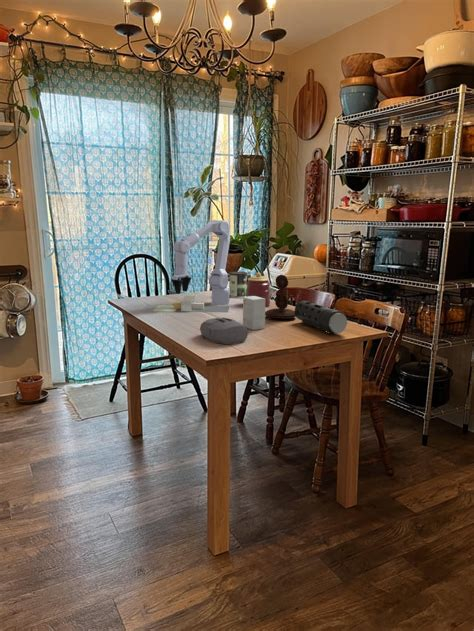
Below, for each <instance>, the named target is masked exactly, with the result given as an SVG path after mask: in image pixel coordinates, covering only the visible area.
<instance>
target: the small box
mask: <svg viewBox="0 0 474 631" xmlns="http://www.w3.org/2000/svg"><path fill="white" fill-rule="evenodd" d="M265 312H266V307H265V298H261V297H257V296H249V297H243V298H242V324H243V325H244V326H246V328H247V329H250V330H252V331H255V330H256V331H257V330H263V329H266V315H265Z"/></svg>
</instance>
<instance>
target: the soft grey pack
mask: <svg viewBox="0 0 474 631" xmlns="http://www.w3.org/2000/svg"><path fill="white" fill-rule="evenodd" d="M199 330H200V331H199V332H200V334H201V336H202V337H204V338H205V339H207V340H208V339H209V340H208V341H210V340H211V342H213V343H216V342H217V344H223V345H234V344H235V343H236V344H240V342H241V343H243V342H245V341H246V340H247V338H248V333H249V332H248V328H246V326H244V325H243V323H241V322H239V321H237V320H236V319H232V318H227V317H213V318H209V319H206V320H203V322H202V323H201V324H200V326H199ZM236 344H235V345H236Z"/></svg>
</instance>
